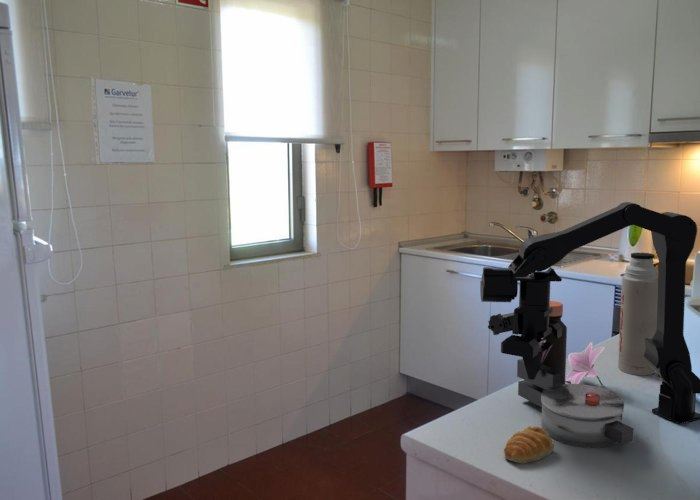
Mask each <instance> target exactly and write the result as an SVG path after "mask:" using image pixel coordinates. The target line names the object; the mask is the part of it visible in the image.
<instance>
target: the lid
mask: <svg viewBox="0 0 700 500" xmlns="http://www.w3.org/2000/svg"><path fill="white" fill-rule="evenodd" d="M516 364H517V365H516V369H517V370H516V371H517V372H516V373H517V374H516V377H517V378H519V379H522V380H526V381H528V382H530V383H532V384H534V385H537V386H539V387H541V388H543V389H544V390H543V391H542V393H541V402H542V404H543V405H544V406H545V407H546V408H547V409H549V410H550V411H552V412H554V413H556V414H559V415H562V416H565V417H569V418H574V419H580V420H590V421H600V420H608V419H613V418H616V417H618V416H620V415H621V414H622V415H623V413H624V411H625V403H624V400H623V398H622V397H620V396H619V395H618V394H616V393H615V392H612V391H610V390H607V389H605V388H603V387H598V386H594V385H590V384H583V383H582V384H581V383H579V384H571V383H565V384H563V373H562V372H560V371H557V370H555V369H553V368H550V367H548V366H545V365H543V364H542V365H541V367H540V369H539V371H538V373H537V375H536V377H535V379H534V380H531V379H528V376H527V372H526V368H525V365H524V361H523V358H521V359H517V363H516Z"/></svg>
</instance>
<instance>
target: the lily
mask: <svg viewBox="0 0 700 500" xmlns="http://www.w3.org/2000/svg"><path fill="white" fill-rule="evenodd" d="M605 348H606V346H603V345H602V346H598V347H595V348H594V349H593V341H590V343H589V344H588V345H587V346H586V348H585V350H584V352H583V353H582V352H576V351H575V352H571V353H569V354H568V355H567V356H568V357H567V358H568V364H569V366H570V368H571V370H570V371H569V372H568V374H567V375H565V382H568V381H570V380H571V381H570V384H580V383H581V382H580V381H582V379H583V378H584V377H586V378H587V377H588V378H595V377H596V378H597V380H598V382H599V383H600V385H601V386H602V385H603V383H602V381H601V379H600V377H599V376H598V373H597V369H596V367H595V364H594V363H595V362H596V359H597V358H598V357H599V355H601V354H602V352H603V350H605Z"/></svg>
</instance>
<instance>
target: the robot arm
mask: <svg viewBox="0 0 700 500" xmlns="http://www.w3.org/2000/svg"><path fill="white" fill-rule="evenodd" d="M630 226H635V227H638V228H641V229H644V230H647V231H649V232H650V234H651V240H652V245H653V248H654V250H655V253H656V256H657V259H658V267H657V273H658V274H657V277H658V301H657V330H656V333H655V335H654V336H653V338H652V339H649V338H645V346H646V350H645V354H644V357H645V358H646V359H647V362H648V364H649V366H650V367H651V368H652V369H653V370H654V371H655V373H656V376H657V377H658V378H659V379H661V381H662V382H661V384H659V393H658V404H657V407H654V408H651V413H654V414H656V415H658V416H660V417H663V418H665V419H668V420H669V421H672V422H674V423H677V424H680V425H681V424H685V423H689V422H693V421H695V420H696V421H697V420H698V419H700V413H699V412H696V400H697V394H698V395H699V394H700V377H699V376H697V374H695V373H694V372H693V367H692V360H691V354H690V351H689V347H688V345H687V342H686V340H685V336H684V332H685V331H684V327H685V301H686V275H687V271H686V269H687V261H688V259H689V258H690V256H691V254H692V252H693V250H694V248H695V243H696V238H697V236H698V225H697V222H696V221H695V220H693V219H692V218H691V217H690V216H687V215H685V214H680V213H678V212H677V213H676V212H672V211H671V212H670V211H665V212H657V211H655V210H652V209H649V208H645V207H644V206H641V205H640V204H637V203H634V202H631V201H630V202H628V201H625V202H622V203H620V204H618V205H617V206H615V207H614V208H611V209H608V210H607V211H603V212H602V213H600V214H597V215H595V216H592V217H589V218H588V219H586V220H584V221H582V222H579V223H577V224H575V225H573V226H570V227H568V228H565V229H563V230H560V231H555V232H551V233H550V232H549V233H542V234H540V235H535V236H533V237H532V236H531V237H529V238H527V239H525V240H523V241H522V242H521V244H520V246H519V249H518V254H517V255H516V257H514V259H513V260H512V262H510V264H509V265H508V267H506V268H505V267H504V268H497V267H495V268H494V267H492V266H491V267H489V266H485V267H482V274H481V281H480V286H479V287H480V288H479V291H480V294H479V295H480V301H481V303H511V302H512V300H515V298H517V297H519V299H518V306H517V307H515V308H514V310H513V312H510V313H505V314H501V313H497V314H493V315H491V316H489V320H488V321H487V322H488V325H487V328H488V330H490V331H492V334H493V335H494V336H498V335H500V334H503V333H508V332H511V331H512V332H511V333H512V334H511V335H509V336H508V337H506V338H505V339H504V340H503V341H501V342H500V352H501V354H505V355H509V356H515V357H521V359H523V361H524V365H525V368H526V372H527V376H528V379H531V380H534V379H535V377H536V375H537V373H538V371H539V369H540V367H541V365H542V363H543V362H544V360H545V358H546V356H547V354H548V352H549V350H550V348H551V347H552V345H553V344H551V343H545V341H546V339H543V338H545V337H546V336H547V335H549V334H550V333H551V332H552V331H554V336H555V338H557V339H558V338H560V337H561V336H562V326H561V325H560V324H559V323H558V322H552V321H549V314H550V313H552V309H553V307H549V306H550V301H551V300H550V298H551V282H557V283H558V282H559V283H560V282H562V281H563V278H561V276H559V274H558V273H557V272H556V271H555V269H554V268H553V266H554V265H556V264H558V263H559V262H561V261H562V260H563V259H564V258H565V257H566V256H568V254H569V253H571V252H573V251H575V250H577V249H580V248H582V247H583V246H586V245H588V244H591V243H593V242H595V241H597V240H601V239H602V238H604V237H607V236H610V235H612V234H614V233H616V232H619V231H621V230H623V229H625V228H627V227H630ZM518 283H519V286H518ZM518 287H519V288H518ZM518 289H519V290H518ZM518 291H519V292H518ZM518 294H519V295H518Z"/></svg>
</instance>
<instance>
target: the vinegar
mask: <svg viewBox="0 0 700 500" xmlns="http://www.w3.org/2000/svg"><path fill="white" fill-rule="evenodd" d="M549 307H553V309H552V313H550V314H549V321H552V322H558V323H559V324H560V325H561V326H562V336H561V337H560V338H558V339H557V338H555V336H554V331H552V332H551V333H550V334H549V335H547V336H546V337H545V338H543V339H546V341H545V343H551V344H553V345H552V347H551V348H550V350H549V352H548V354H547V356H546V358H545V360H544V362H543V363H542V364H543V365H545V366H548V367H550V368H553V369H555V370H557V371H560V372H562V373H563V384H566V381H565V378H566V374H567V372H566V369H567V367H566V366H567V341H568V340H567V336H568V335H567V333H568V327H567V325H565V323H564V322H563V321H562V318H563V313H564V311H563V310H564V304H563V303H562V302H559V301H556V300H555V301H554V300H550V306H549Z"/></svg>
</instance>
